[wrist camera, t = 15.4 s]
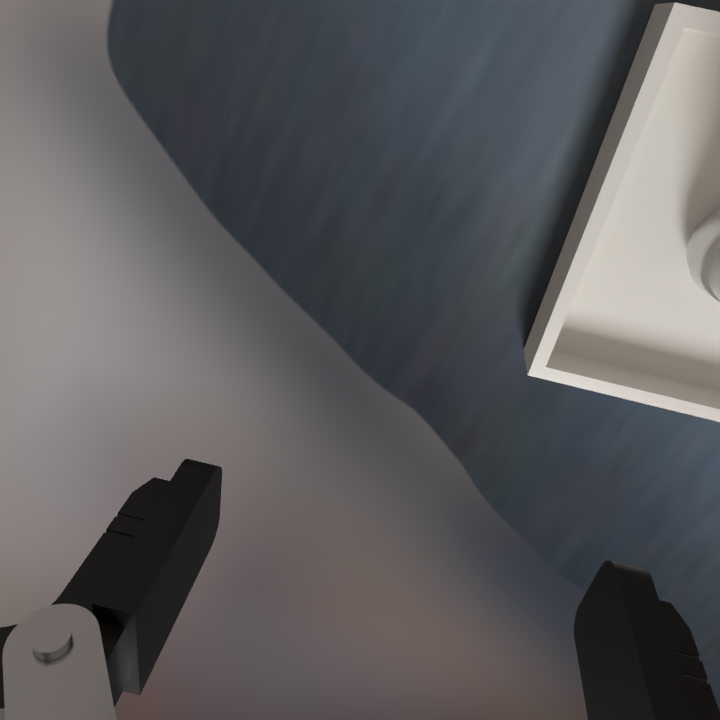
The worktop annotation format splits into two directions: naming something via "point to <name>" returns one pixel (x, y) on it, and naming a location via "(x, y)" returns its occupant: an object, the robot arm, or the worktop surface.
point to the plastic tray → (644, 234)
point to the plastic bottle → (706, 255)
